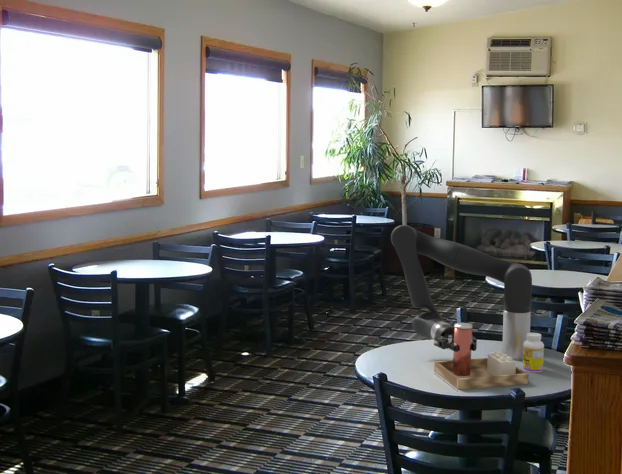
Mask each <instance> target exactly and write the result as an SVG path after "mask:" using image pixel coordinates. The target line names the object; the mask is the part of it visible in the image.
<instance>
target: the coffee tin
mask: <svg viewBox="0 0 622 474" xmlns="http://www.w3.org/2000/svg"><path fill="white" fill-rule="evenodd" d="M473 326H474V325H473V324H472V323H468V322H455V323H454V324H453V327H454V343H455V344H456V345H458V352H454V351H453V356H452V360H453V374H454V375H457V376H469V375H470V374H471V359H472V350H471V347H472V336H473V328H474V327H473Z"/></svg>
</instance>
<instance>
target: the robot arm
mask: <svg viewBox="0 0 622 474" xmlns="http://www.w3.org/2000/svg"><path fill="white" fill-rule="evenodd" d="M390 241H391V244H392V245H393V247H394V250H395V252H396V254H397V256H398V258H399V261H400V263H401V267H402V271H403V274H404V278H405V282H406V286H407V291H408V295H409V298H410V302H411V305H412V307H413V308H415V309H421V308H422V309H426V311H427V312H425V313H422V314H418V315H416V316H414V318H413V319H412V322H411V326H412V329H413V331H414V332H415V333H416V334H417V335H418V336H421V337H424V338H431V339H432V340H433V345H434V346H435V347H438V348H440V349H441V350H450V351H453V352H458V345H456V344H455V343H454V325H451V324H449V323H448V322H445V321H443V317H442V316H441V315H440V313H439V311H438V309H437V308H436V306H435V305H434V303H433V300H432V297H431V294H430V289H429V286H428V283H427V280H426V278H425V277H426V276H425V275H424V272H423V270H422V267H421V263H420V259H419V257H418V254H419V255H422V256H426V257H428V258H429V259H432V260H433V261H436V262H437V263H439V264H441V265H444V266H445V267H448V268H450V269H453V270H456V271H458V272H462V273H465V274H470V275H475V276H481V277H487V278H491V279H494V280H497V281H498V282H501V283H502V284H503V315H502V316H503V317H502V324H503V325H502V347H501V348H502V349H501V351H502V352H503V354H507V355H508V356H510V357H512V360H514V361H515V360H516V361H519V360H520V361H523V344H524V342H525V341H527V333H532V332H531V313H532V312H531V311H532V310H531V309H532V291H533V278H532V277H533V275H532V273H531V270H530V268H528V267H527V266H526V265H524V264H523V263H522V264H521V263H517V262H512V261H509V260H504V259H500V258H498V257H494V256H492V255H490V254H488V253H486V252H483V251H480V250H478V249H476V248H473V247H471V246H469V245H465V244H462V243H459V242H455V241H452V240H448V239H443V238H439V237H435V236H431V235H429V234H427V233H424V232H421V231H420V230H417V229H415V228H414V227H413V226H410V225H408V224H407V225H406V224H401V225H398V226H396V227H395V228H394V229H393V230H392V232H391V234H390ZM477 342H478V339H477V338H476V337H475V336H474V335H472V347H471V351H473V352H474V351H475V352H476V351H477V348H478V347H477V345H478V343H477Z"/></svg>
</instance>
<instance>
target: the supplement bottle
mask: <svg viewBox="0 0 622 474" xmlns="http://www.w3.org/2000/svg"><path fill="white" fill-rule="evenodd" d="M541 340H542V334H541V333H538V332H531V333H527V341H525V342H524V344H523V360H522V371H524V372H527V373H542V372H544V353H545V351H544V350H545V344H544V342H543V341H541Z"/></svg>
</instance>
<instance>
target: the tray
mask: <svg viewBox="0 0 622 474" xmlns="http://www.w3.org/2000/svg"><path fill="white" fill-rule="evenodd" d="M487 360H488V357H482V358H481V357H480V358H471V374H470V375H469V376H457V375H454V374H453V359H452V360H441V361H433V372H434V373H433V374H434V375H436V376H437V377H438V378H439V379H441V380H442V381H443V382H444V383H446V384H447V385H448V386H450V388H452V389H453V390H455V391H456V392H459V391H458V390H468V389H469V390H470V389H471V390H472V389H480V388H493V387H494V388H495V387H505V386H520V385H528V383H529V373H528V372H527V371H524V370H523V369H522V368H521V369H520V368H519V367H517V366H516V374H510V375H497V376H493V375H491V374H490V373H488V372H487Z"/></svg>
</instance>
